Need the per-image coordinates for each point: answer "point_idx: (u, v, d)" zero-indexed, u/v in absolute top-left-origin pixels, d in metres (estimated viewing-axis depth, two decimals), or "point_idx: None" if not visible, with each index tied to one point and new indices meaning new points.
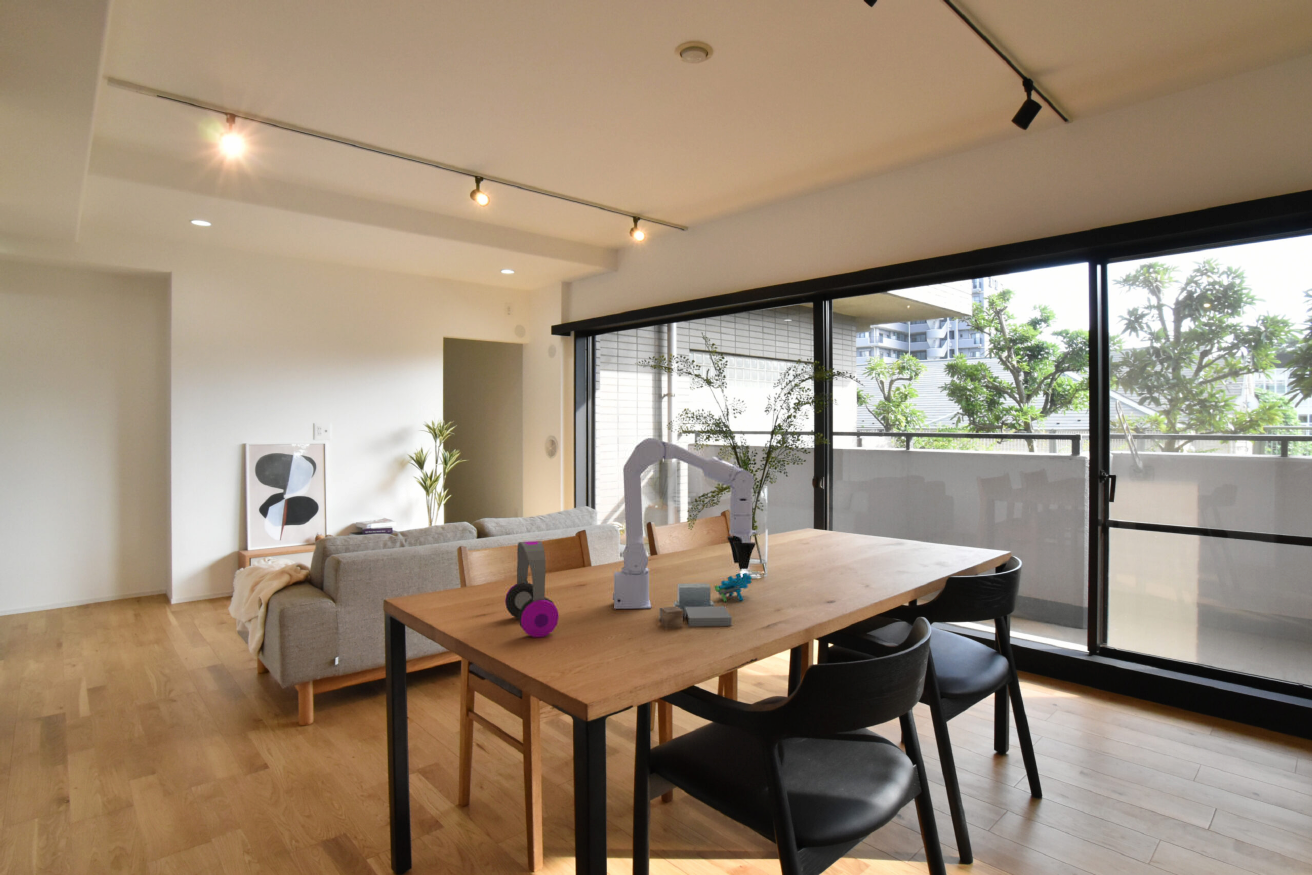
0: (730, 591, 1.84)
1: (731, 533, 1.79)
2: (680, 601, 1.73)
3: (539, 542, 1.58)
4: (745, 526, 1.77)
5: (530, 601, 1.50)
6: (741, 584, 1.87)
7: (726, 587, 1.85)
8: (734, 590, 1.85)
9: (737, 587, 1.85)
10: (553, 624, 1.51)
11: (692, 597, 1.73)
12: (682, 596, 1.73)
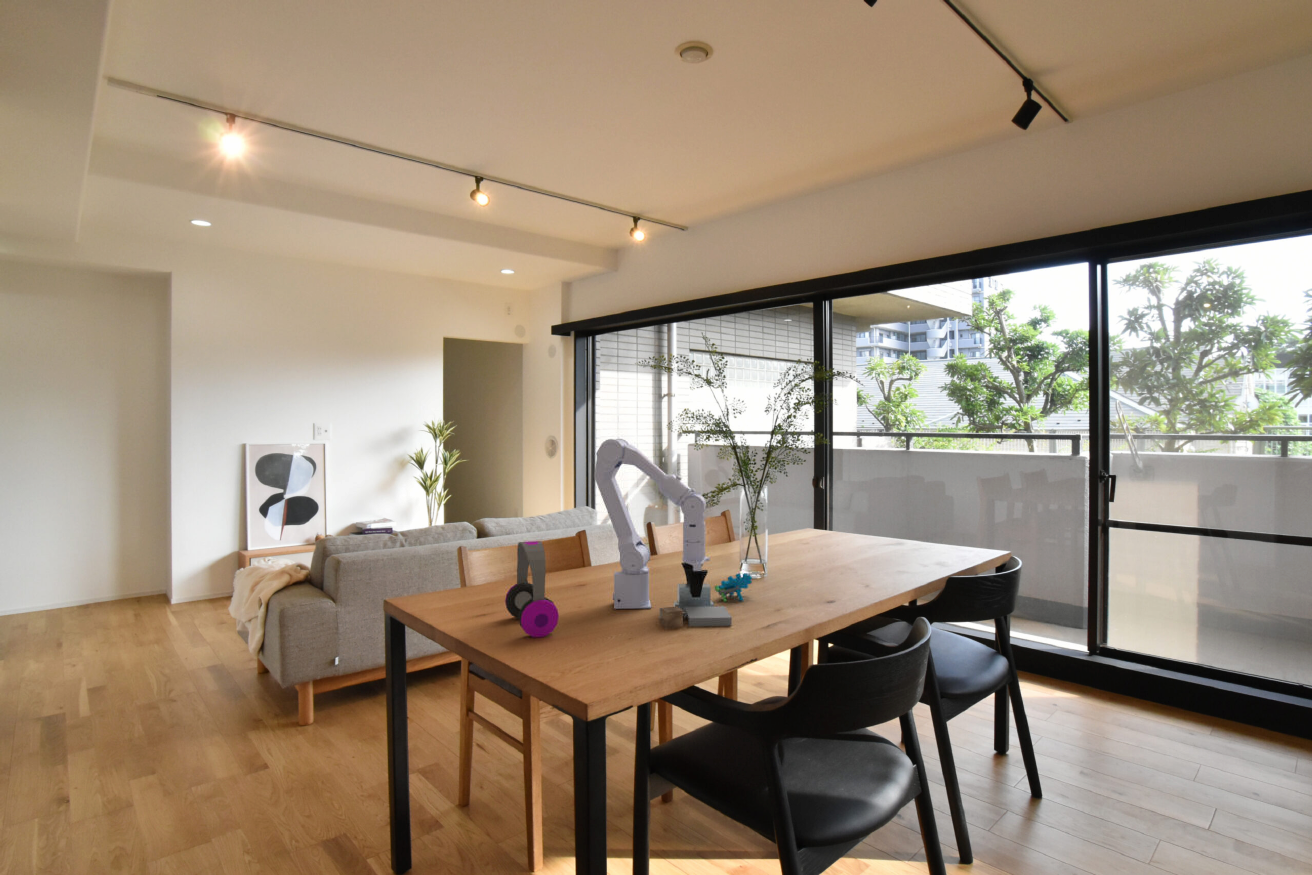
0: (730, 591, 1.84)
1: (684, 560, 1.74)
2: (680, 601, 1.73)
3: (539, 542, 1.58)
4: (697, 553, 1.72)
5: (530, 601, 1.50)
6: (741, 584, 1.86)
7: (726, 587, 1.85)
8: (734, 590, 1.85)
9: (737, 587, 1.85)
10: (553, 624, 1.51)
11: (692, 597, 1.73)
12: (682, 596, 1.73)
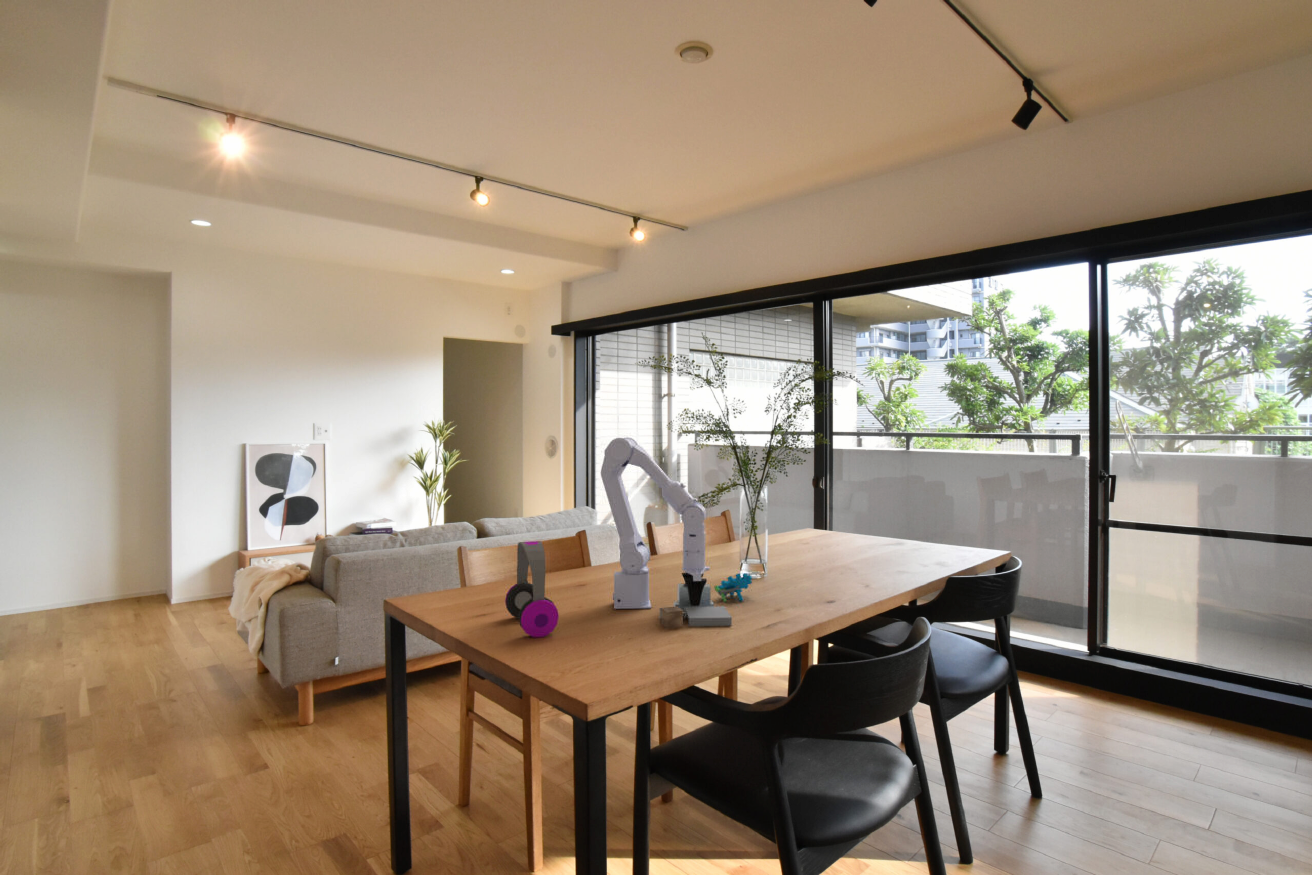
0: (730, 591, 1.84)
1: (683, 570, 1.74)
2: (680, 601, 1.73)
3: (539, 542, 1.58)
4: (697, 562, 1.72)
5: (530, 601, 1.50)
6: (741, 584, 1.86)
7: (726, 587, 1.85)
8: (734, 590, 1.84)
9: (737, 587, 1.85)
10: (553, 624, 1.51)
11: None
12: (682, 595, 1.73)
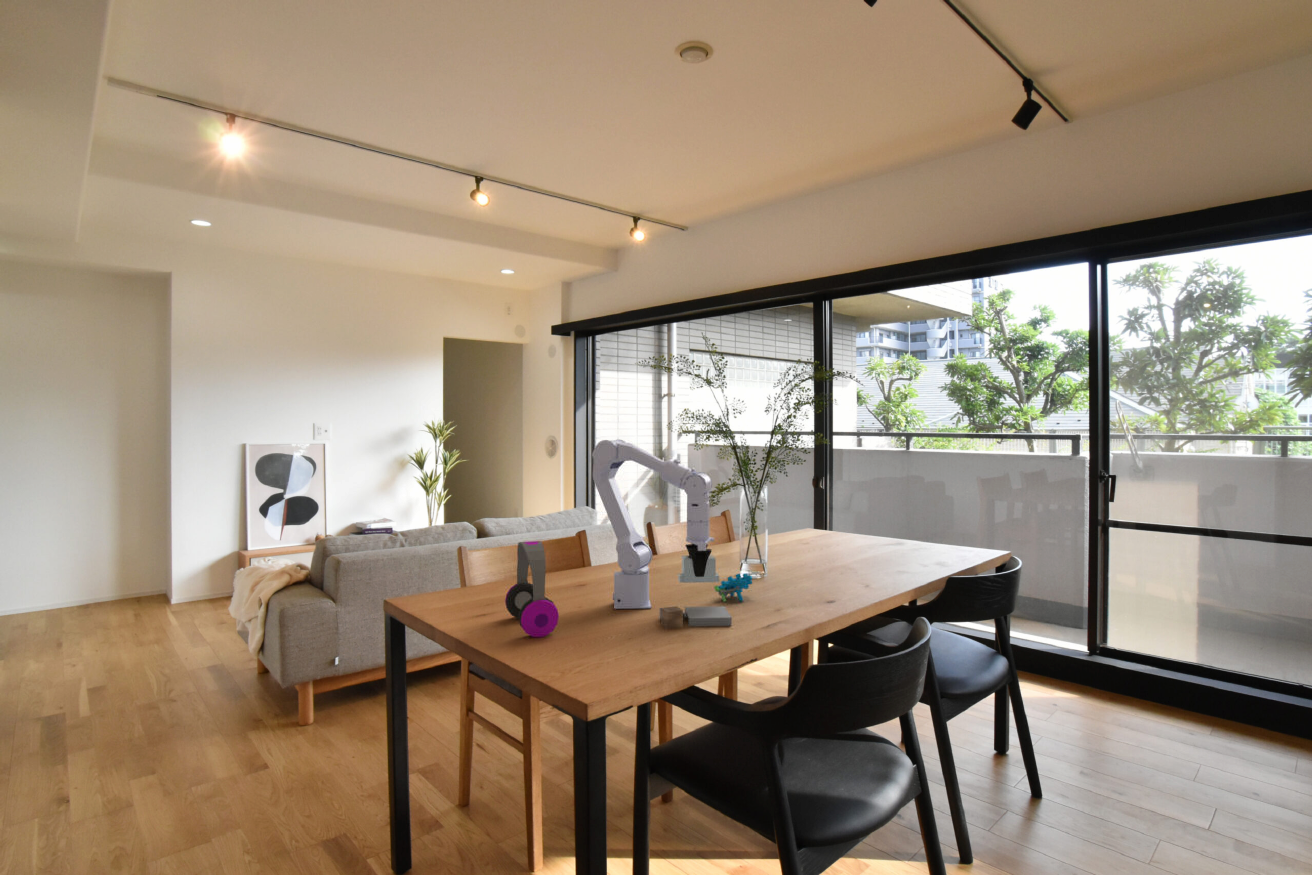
0: (730, 591, 1.84)
1: (687, 540, 1.71)
2: (685, 573, 1.70)
3: (539, 542, 1.58)
4: (702, 532, 1.69)
5: (530, 601, 1.50)
6: (742, 584, 1.86)
7: (726, 587, 1.85)
8: (734, 590, 1.84)
9: (737, 587, 1.84)
10: (553, 624, 1.51)
11: None
12: (686, 567, 1.70)
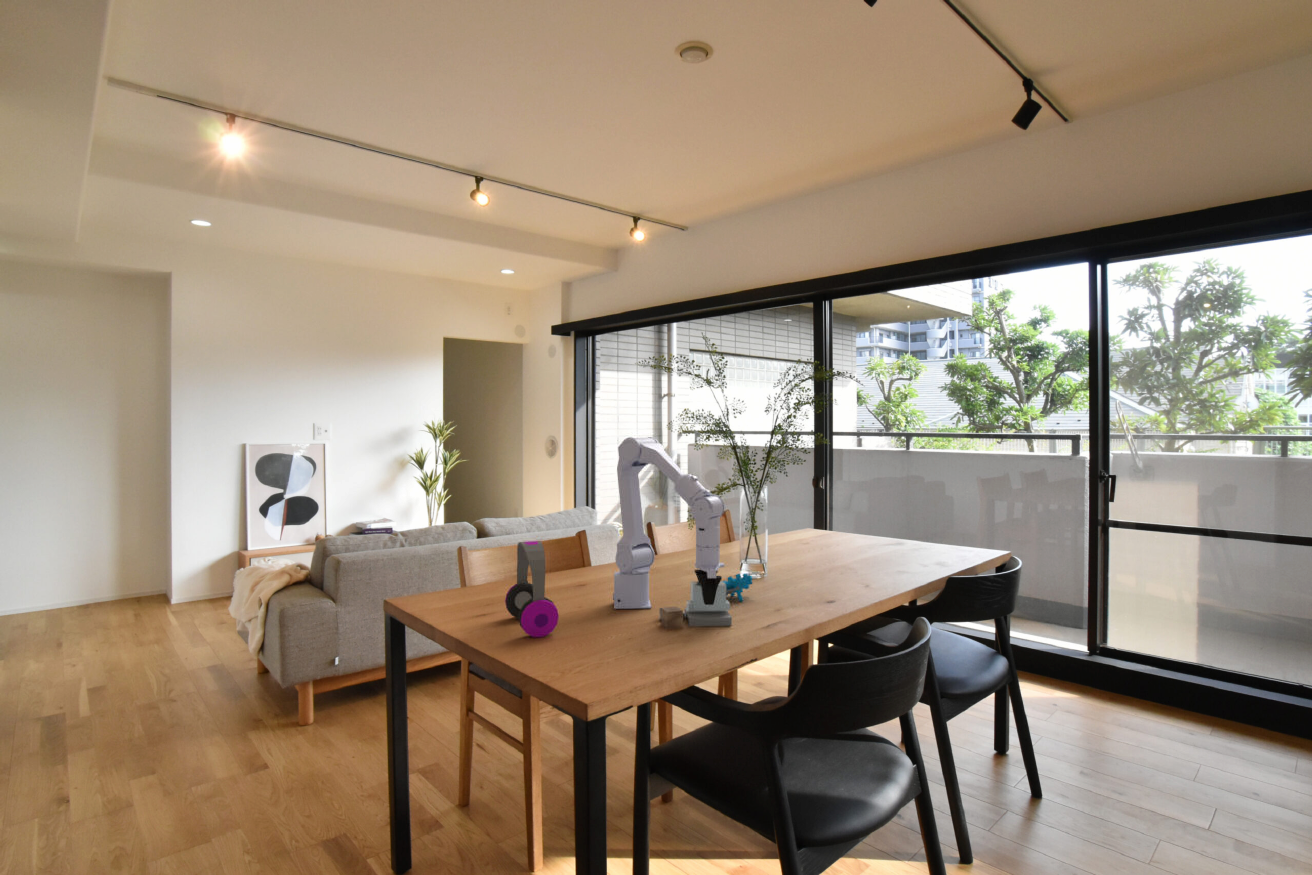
0: (730, 591, 1.84)
1: (697, 566, 1.63)
2: (694, 600, 1.62)
3: (539, 542, 1.58)
4: (711, 558, 1.62)
5: (530, 601, 1.50)
6: (742, 585, 1.86)
7: (726, 587, 1.85)
8: (734, 590, 1.84)
9: (737, 587, 1.84)
10: (553, 624, 1.51)
11: None
12: (696, 594, 1.62)
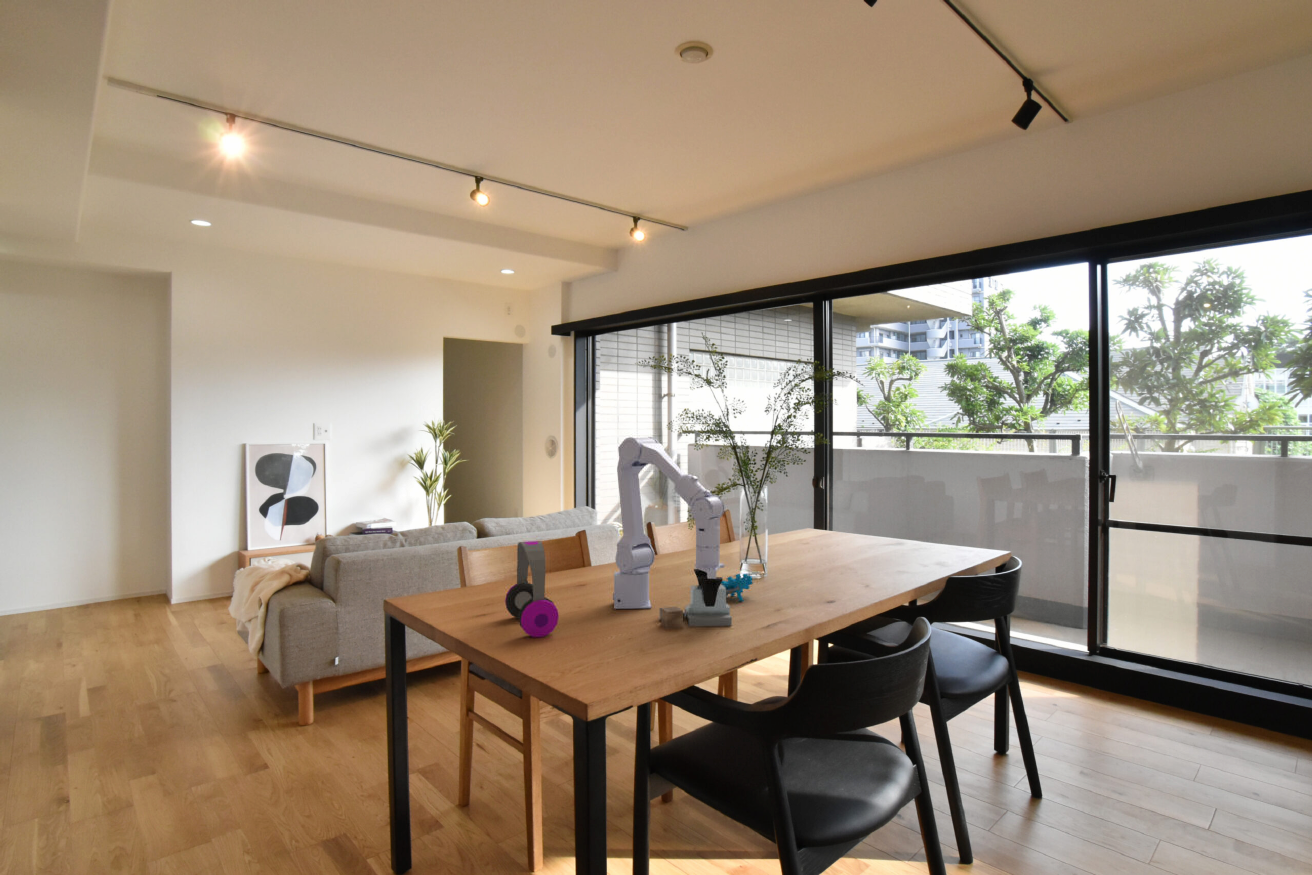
0: (730, 591, 1.84)
1: (697, 567, 1.63)
2: (694, 604, 1.62)
3: (539, 542, 1.58)
4: (711, 559, 1.62)
5: (530, 601, 1.50)
6: (742, 585, 1.86)
7: (726, 587, 1.85)
8: (734, 590, 1.84)
9: (737, 588, 1.84)
10: (553, 624, 1.51)
11: None
12: (696, 598, 1.62)
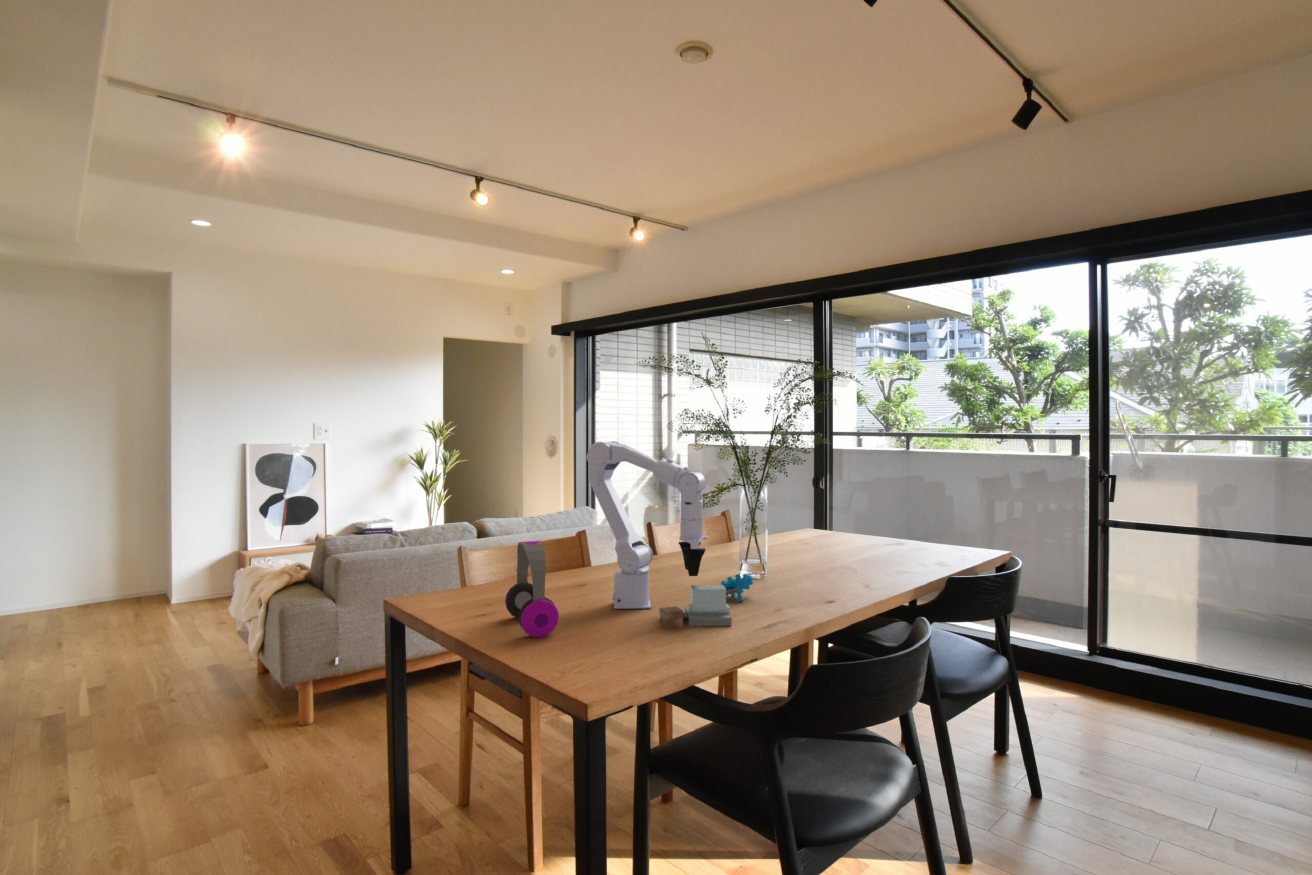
0: (730, 592, 1.84)
1: (681, 538, 1.71)
2: (694, 604, 1.62)
3: (539, 542, 1.58)
4: (695, 531, 1.69)
5: (530, 601, 1.50)
6: (742, 585, 1.86)
7: (726, 587, 1.84)
8: (734, 590, 1.84)
9: (737, 588, 1.84)
10: (553, 624, 1.51)
11: (707, 600, 1.62)
12: (696, 598, 1.62)
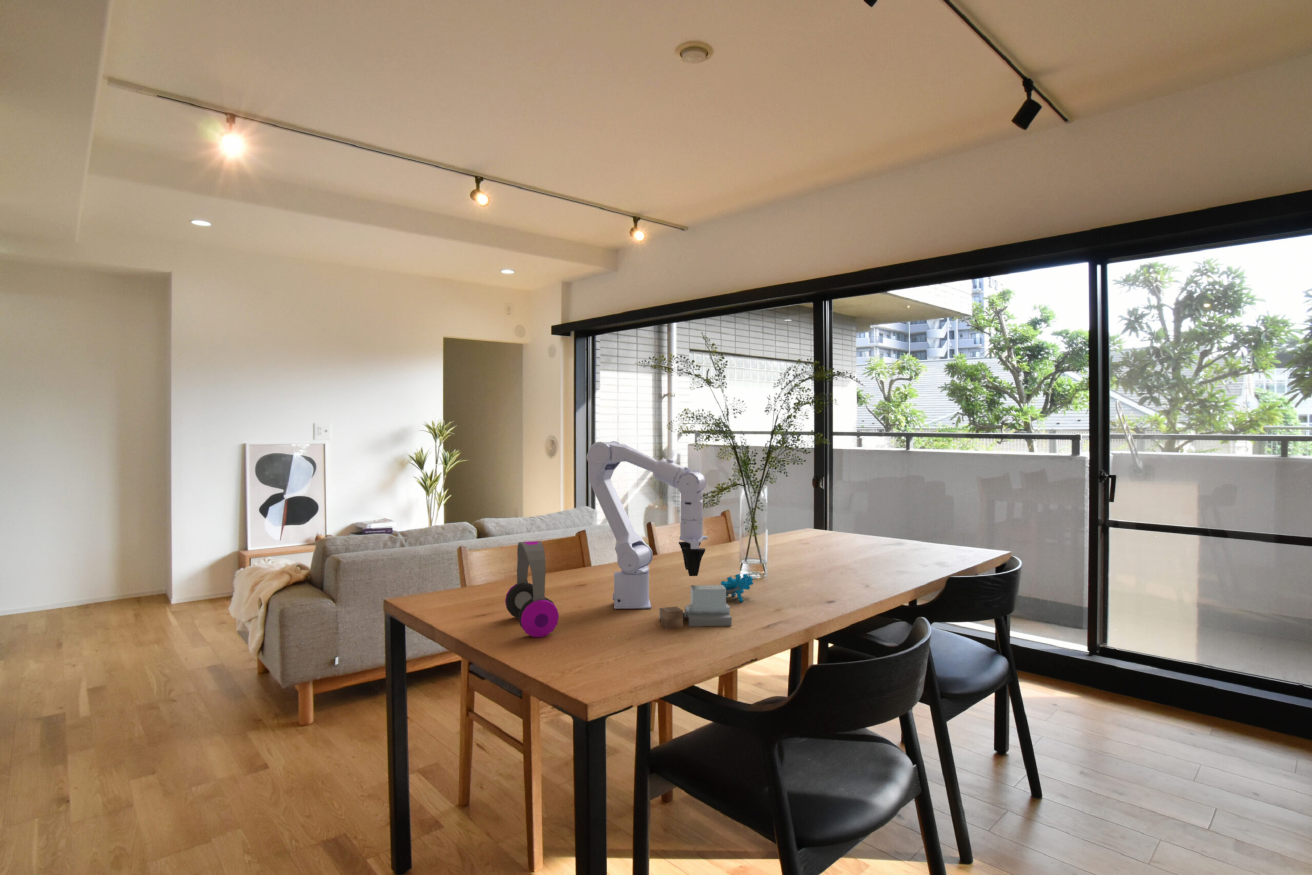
0: (730, 592, 1.84)
1: (681, 538, 1.71)
2: (694, 604, 1.62)
3: (539, 542, 1.58)
4: (695, 531, 1.69)
5: (530, 601, 1.50)
6: (742, 585, 1.85)
7: (726, 588, 1.84)
8: (734, 591, 1.84)
9: (737, 588, 1.84)
10: (553, 624, 1.51)
11: (707, 600, 1.62)
12: (696, 598, 1.62)
